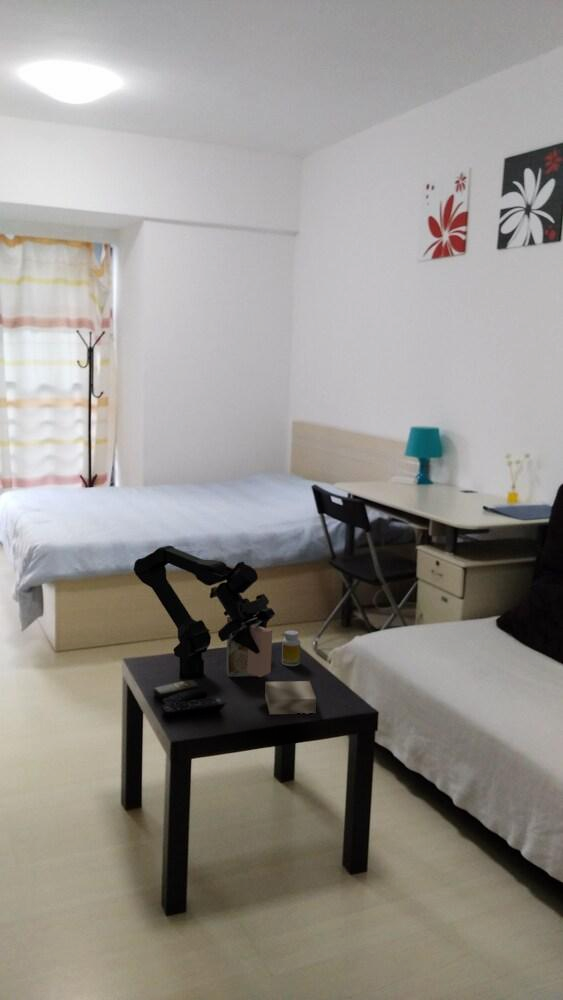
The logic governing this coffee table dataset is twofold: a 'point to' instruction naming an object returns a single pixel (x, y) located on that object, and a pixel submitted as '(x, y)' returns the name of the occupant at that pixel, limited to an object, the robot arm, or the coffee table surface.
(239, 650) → the coffee box
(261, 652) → the tower block
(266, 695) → the base brick
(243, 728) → the coffee table surface
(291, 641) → the supplement bottle
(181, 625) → the robot arm
